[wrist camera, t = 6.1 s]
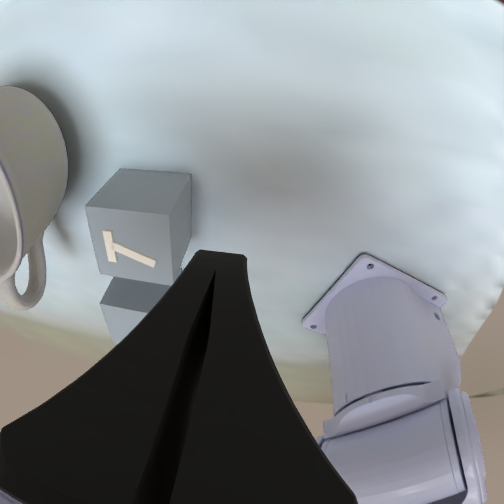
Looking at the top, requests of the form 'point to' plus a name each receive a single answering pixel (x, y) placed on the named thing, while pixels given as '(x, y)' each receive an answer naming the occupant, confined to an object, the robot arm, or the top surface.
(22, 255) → the teacup
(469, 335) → the top surface
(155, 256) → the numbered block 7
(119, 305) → the plain block
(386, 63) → the top surface
